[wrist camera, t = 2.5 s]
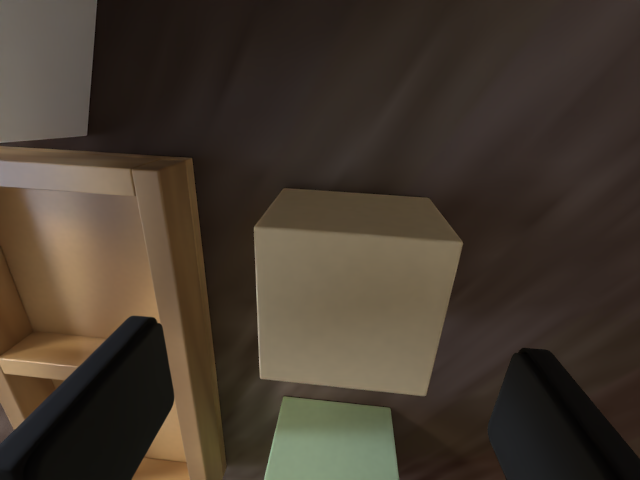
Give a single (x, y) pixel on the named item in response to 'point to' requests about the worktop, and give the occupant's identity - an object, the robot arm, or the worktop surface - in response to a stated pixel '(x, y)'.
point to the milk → (45, 68)
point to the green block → (332, 442)
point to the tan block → (352, 289)
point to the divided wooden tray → (107, 287)
